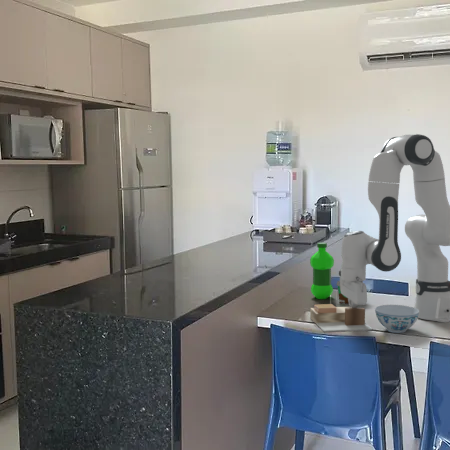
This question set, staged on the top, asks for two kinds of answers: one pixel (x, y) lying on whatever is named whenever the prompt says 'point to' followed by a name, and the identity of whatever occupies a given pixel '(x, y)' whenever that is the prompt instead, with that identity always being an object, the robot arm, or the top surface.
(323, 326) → the grey mat
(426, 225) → the robot arm
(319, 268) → the plastic bottle
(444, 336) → the top surface
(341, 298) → the food container
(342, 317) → the birch deck
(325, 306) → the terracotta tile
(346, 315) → the walnut tile
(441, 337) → the top surface
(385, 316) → the chinaware
